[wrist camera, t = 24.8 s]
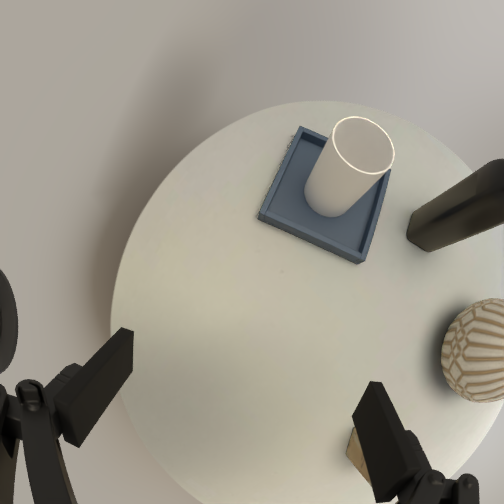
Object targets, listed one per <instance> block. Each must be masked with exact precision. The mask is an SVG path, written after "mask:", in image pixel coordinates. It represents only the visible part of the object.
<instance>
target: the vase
mask: <svg viewBox="0 0 504 504" xmlns="http://www.w3.org/2000/svg"><path fill="white" fill-rule="evenodd" d="M441 364H442V370H443V373H444V376H445V378H446V380H447V382H448V384H449V385H450V387H451V388H452V389H453V390H454V391H455V392H456V393H457V394H458V395H460V396H461V397H463V398H465V399H467V400H469V401H472V402H479V403H484V402H493V401H497V400H501V399H504V299H498V298H491V299H485V300H482V301H479V302H476V303H474V304H472V305H470V306H469V307H467V308H466V309H464V310H463V311H462V312H461V313H460V314H459V315H458V316H457V317H456V318H455V319H454V321H453V322H452V323H451V325H450V327H449V328H448V330H447V333H446V335H445V338H444V341H443V345H442V352H441Z"/></svg>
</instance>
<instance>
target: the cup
mask: <svg viewBox="0 0 504 504" xmlns="http://www.w3.org/2000/svg"><path fill="white" fill-rule="evenodd" d="M394 156H395V154H394V147H393V144H392V141H391V140H390V138H389V136H388V135H387V133H386V132H385V131H384V130H383V129H382V128H381V127H380V126H378V125H377V124H376V123H374V122H372V121H370V120H368V119H365V118H362V117H347V118H344V119H342V120H340V121H339V122H338V123H337V124H336V125H335V127H334V129H333V130H332V132H331V134H330V136H329V138H328V140H327V142H326V144H325V146H324V148H323V150H322V152H321V154H320V156H319V158H318V160H317V162H316V164H315V166H314V168H313V170H312V172H311V174H310V176H309V178H308V180H307V182H306V184H305V188H304V194H305V198H306V201H307V203H308V204H309V206H310V207H311V208H312V209H313V210H314V211H315V212H316V213H318V214H320V215H322V216H325V217H337V216H340V215H342V214H344V213H345V212H346V211H347V210H348V209H349V208H350V207H351V206H352V205H353V204H354V203H355V202H356V201H357V200H358V199H360V198H361V197H362V196H363V195H364V194H365V193H366V192H367V191H368V190H369V189H370V188H371V187H372V186H373V185H374V184H375V183H376V182H377V181H378V180H379V179H380V178H381V177H382V176H383V175H384V174H385V173H386V172H387V171H388V169H389V168H390V167H391V165H392V164H393V161H394Z"/></svg>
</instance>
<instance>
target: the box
mask: <svg viewBox="0 0 504 504" xmlns="http://www.w3.org/2000/svg"><path fill="white" fill-rule="evenodd" d="M346 455H347V457H348V458H349V459H350V460H351V462H352V463H353V464H354V466H355V467H356V468H357V469H358V471H359V472H360V473H361V474H362V476H363V477H364V478H365V479H366V480H367V482H368V483H369V484H370V485H371V481H370V478H369V474H368V470H367V467H366V463H365V459H364V456H363V452H362V449H361V445H360V442H359V439H358V435H357V432H356V428H354V429H353V432H352V435H351V439H350V442H349V445H348V448H347V452H346ZM371 487H372V485H371Z"/></svg>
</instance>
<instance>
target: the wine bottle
mask: <svg viewBox="0 0 504 504" xmlns="http://www.w3.org/2000/svg"><path fill="white" fill-rule="evenodd" d="M503 223H504V159H497V160H493V161H491V162H489V163H487V164H486V165H484V166H483V167H481V168H480V169H479V170H477V171H475V172H474V173H473V174H471V175H470V176H468V177H467V178H465V179H464V180H462V181H461V182H459V183H458V184H456V185H454V186H453V187H451V188H450V189H448V190H447V191H445V192H444V193H442V194H441V195H439V196H438V197H436V198H434V199H433V200H431V201H430V202H428V203H427V204H425V205H423V206H422V207H420V208H419V209H417V210H415V211H414V212H413V214H412V218H411V221H410V225H409V228H408V231H407V237H408V239H409V240H410V241H411V242H413V243H414V244H416V245H417V246H419V247H421V248H422V249H424V250H425V251H427V252H432V251H434V250H437V249H440V248H442V247H445V246H448V245H450V244H453V243H456V242H458V241H461V240H464V239H466V238H469V237H471V236H474V235H476V234H479V233H481V232H484V231H486V230H489V229H491V228H494V227H496V226H499V225H501V224H503Z"/></svg>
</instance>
